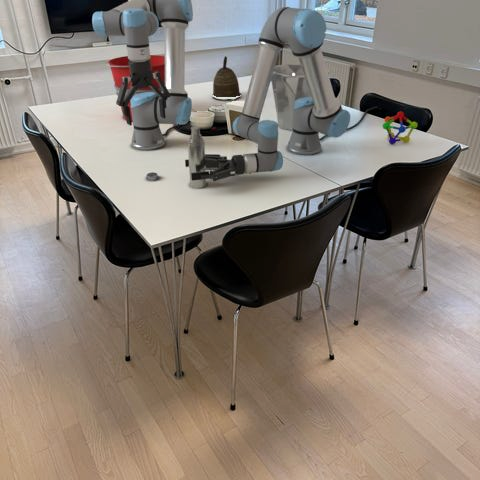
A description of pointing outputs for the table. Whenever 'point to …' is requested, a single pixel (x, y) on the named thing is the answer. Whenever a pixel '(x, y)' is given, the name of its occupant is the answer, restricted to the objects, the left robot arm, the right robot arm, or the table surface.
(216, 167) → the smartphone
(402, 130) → the educational toy
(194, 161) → the bottle
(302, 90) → the bucket
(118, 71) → the bucket
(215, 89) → the bell
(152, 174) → the cap
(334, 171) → the table surface
